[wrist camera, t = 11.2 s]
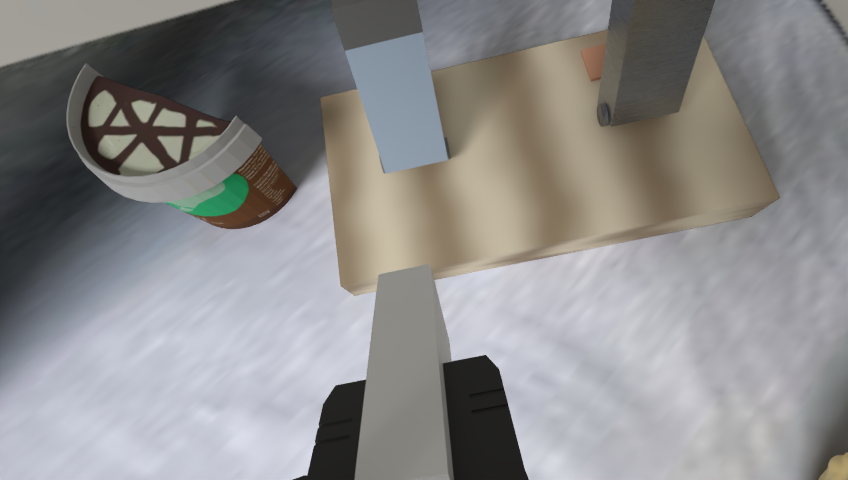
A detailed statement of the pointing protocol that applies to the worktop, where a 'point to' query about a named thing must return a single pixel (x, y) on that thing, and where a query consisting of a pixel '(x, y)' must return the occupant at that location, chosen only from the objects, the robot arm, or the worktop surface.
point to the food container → (174, 154)
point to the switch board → (537, 168)
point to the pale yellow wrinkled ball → (836, 468)
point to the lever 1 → (393, 80)
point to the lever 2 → (649, 57)
